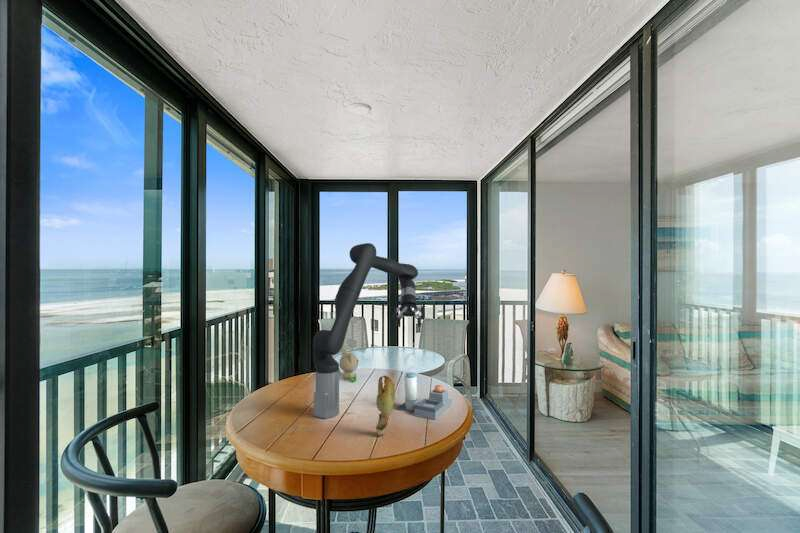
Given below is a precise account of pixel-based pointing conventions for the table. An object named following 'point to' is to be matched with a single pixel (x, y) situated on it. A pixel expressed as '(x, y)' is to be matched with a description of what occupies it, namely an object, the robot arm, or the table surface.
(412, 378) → the cartridge
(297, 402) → the table surface
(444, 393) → the housing
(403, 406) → the pad
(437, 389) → the plunger
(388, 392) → the crab claw
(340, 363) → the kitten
